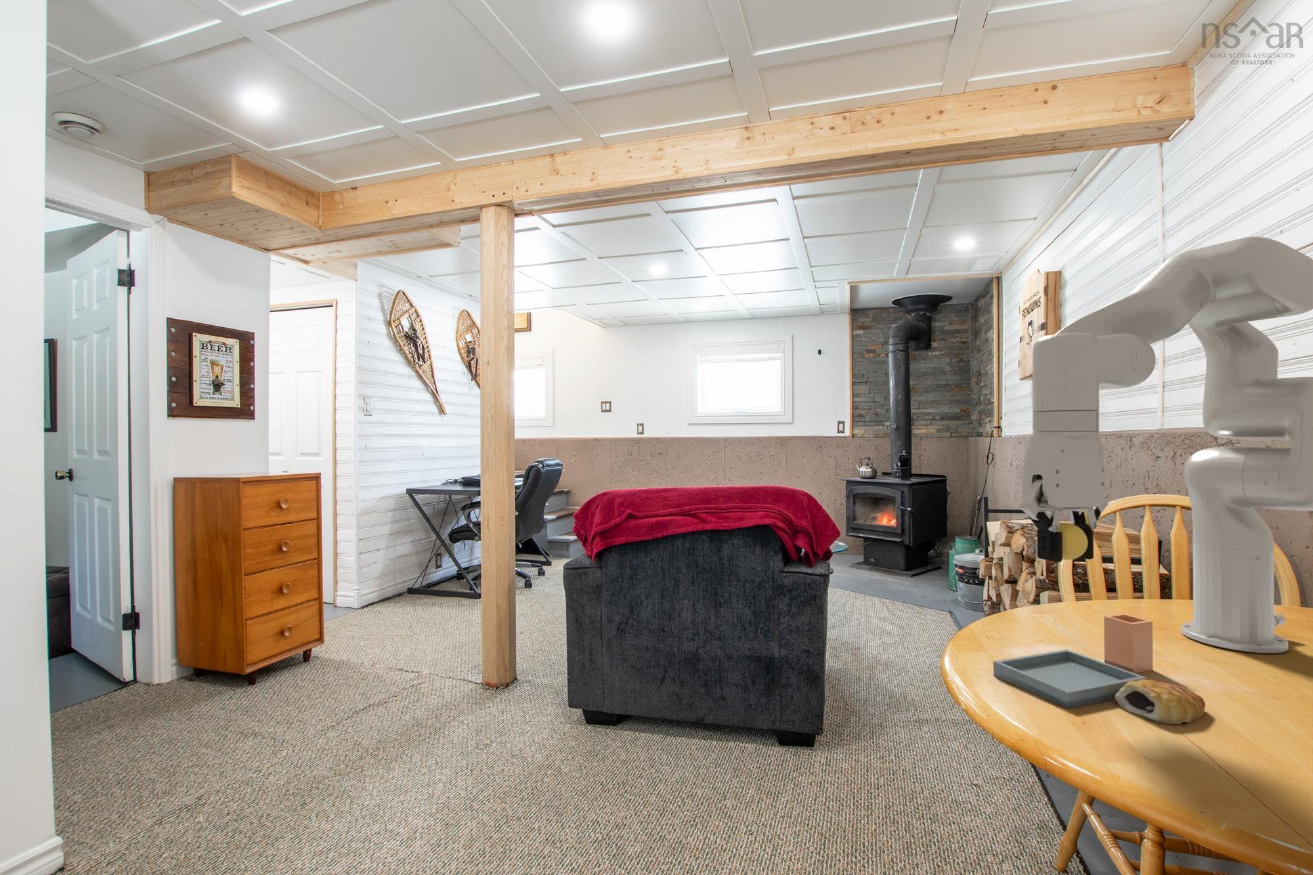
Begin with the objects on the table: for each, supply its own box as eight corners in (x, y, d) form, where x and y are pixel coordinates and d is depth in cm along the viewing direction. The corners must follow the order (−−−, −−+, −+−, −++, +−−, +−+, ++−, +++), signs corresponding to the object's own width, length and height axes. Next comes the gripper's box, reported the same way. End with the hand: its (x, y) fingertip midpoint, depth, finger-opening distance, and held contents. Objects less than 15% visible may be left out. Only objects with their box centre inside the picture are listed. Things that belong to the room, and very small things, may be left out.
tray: (1066, 662, 89) (1066, 649, 89) (1146, 692, 79) (1146, 677, 79) (993, 675, 85) (993, 661, 85) (1068, 708, 75) (1067, 692, 75)
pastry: (1163, 696, 78) (1164, 667, 78) (1225, 720, 72) (1225, 688, 72) (1109, 705, 76) (1109, 675, 76) (1168, 731, 69) (1168, 698, 69)
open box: (1123, 659, 90) (1123, 613, 90) (1152, 669, 87) (1152, 621, 86) (1104, 663, 89) (1104, 616, 89) (1133, 673, 85) (1132, 624, 85)
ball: (1061, 554, 85) (1061, 519, 85) (1096, 561, 80) (1096, 524, 80) (1034, 557, 84) (1034, 521, 84) (1069, 564, 79) (1069, 526, 79)
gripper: (1083, 426, 88) (1083, 550, 88) (993, 425, 83) (993, 557, 83) (1138, 425, 81) (1138, 560, 81) (1043, 424, 76) (1043, 568, 76)
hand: (1065, 557), depth 82 cm, fingers closed on ball, 4 cm apart
